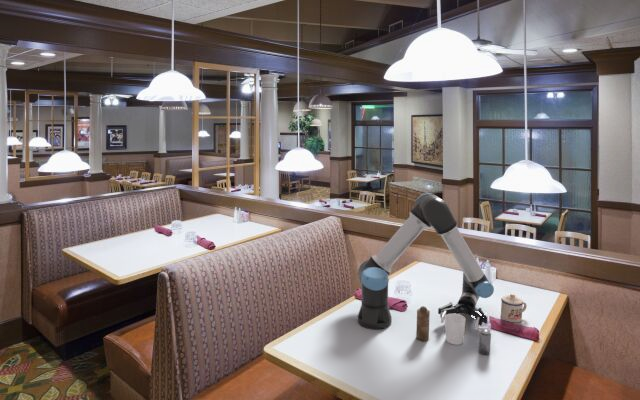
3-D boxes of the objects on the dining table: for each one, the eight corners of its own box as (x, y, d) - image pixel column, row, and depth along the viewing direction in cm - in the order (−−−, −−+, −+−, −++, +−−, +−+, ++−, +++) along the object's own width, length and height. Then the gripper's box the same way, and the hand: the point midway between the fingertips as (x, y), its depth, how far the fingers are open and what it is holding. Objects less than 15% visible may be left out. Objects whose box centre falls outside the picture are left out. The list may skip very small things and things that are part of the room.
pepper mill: (414, 339, 171) (415, 307, 169) (418, 334, 176) (419, 303, 173) (426, 342, 169) (428, 310, 167) (430, 336, 173) (431, 305, 171)
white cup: (465, 346, 166) (466, 323, 164) (445, 344, 167) (446, 321, 165) (463, 336, 173) (464, 314, 171) (443, 334, 175) (444, 312, 173)
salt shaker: (477, 353, 160) (479, 331, 159) (479, 348, 164) (480, 327, 162) (489, 356, 159) (490, 334, 157) (490, 351, 162) (491, 329, 160)
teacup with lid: (508, 324, 183) (510, 299, 181) (495, 315, 192) (497, 291, 189) (532, 321, 186) (534, 296, 183) (518, 312, 194) (520, 288, 192)
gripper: (496, 316, 186) (490, 338, 167) (439, 305, 197) (428, 325, 179) (497, 300, 184) (491, 321, 166) (439, 291, 196) (428, 309, 177)
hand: (458, 323), depth 172 cm, fingers open, 13 cm apart
